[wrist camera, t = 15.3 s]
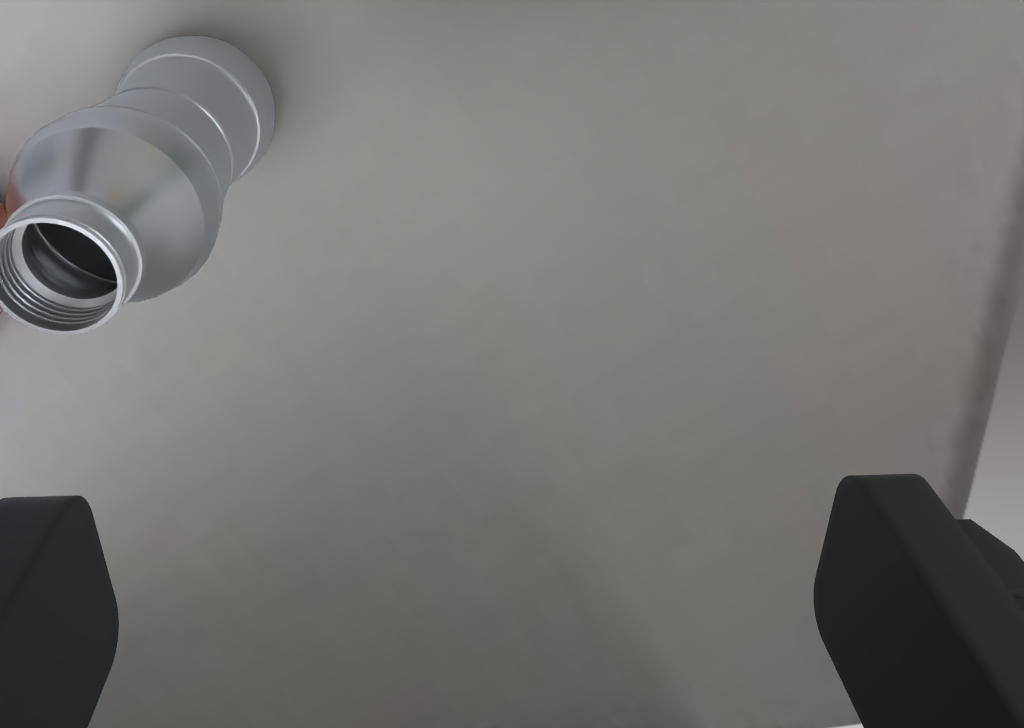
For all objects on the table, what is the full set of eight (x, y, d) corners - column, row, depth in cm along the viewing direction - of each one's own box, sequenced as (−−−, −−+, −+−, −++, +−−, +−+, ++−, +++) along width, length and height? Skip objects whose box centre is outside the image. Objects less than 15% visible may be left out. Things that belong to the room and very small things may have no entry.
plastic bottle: (107, 57, 41) (-134, 217, 24) (243, 1, 41) (97, 125, 23) (180, 186, 44) (15, 409, 27) (308, 137, 44) (222, 334, 26)
